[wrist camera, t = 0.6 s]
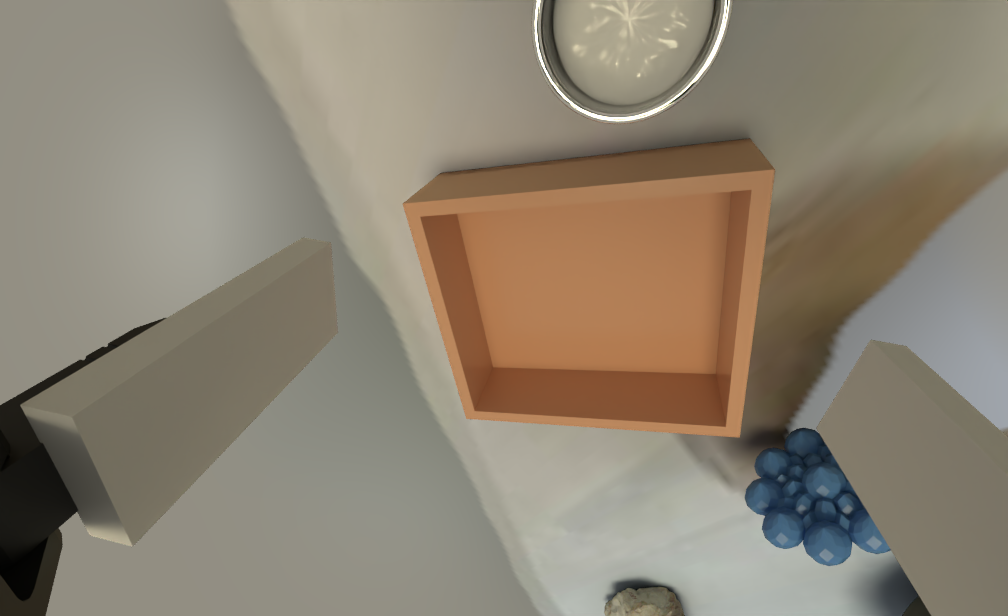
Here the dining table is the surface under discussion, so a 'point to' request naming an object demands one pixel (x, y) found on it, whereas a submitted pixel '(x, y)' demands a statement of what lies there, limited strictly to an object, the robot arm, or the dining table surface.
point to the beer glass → (626, 52)
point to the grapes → (810, 501)
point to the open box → (600, 285)
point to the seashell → (644, 603)
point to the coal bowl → (917, 609)
